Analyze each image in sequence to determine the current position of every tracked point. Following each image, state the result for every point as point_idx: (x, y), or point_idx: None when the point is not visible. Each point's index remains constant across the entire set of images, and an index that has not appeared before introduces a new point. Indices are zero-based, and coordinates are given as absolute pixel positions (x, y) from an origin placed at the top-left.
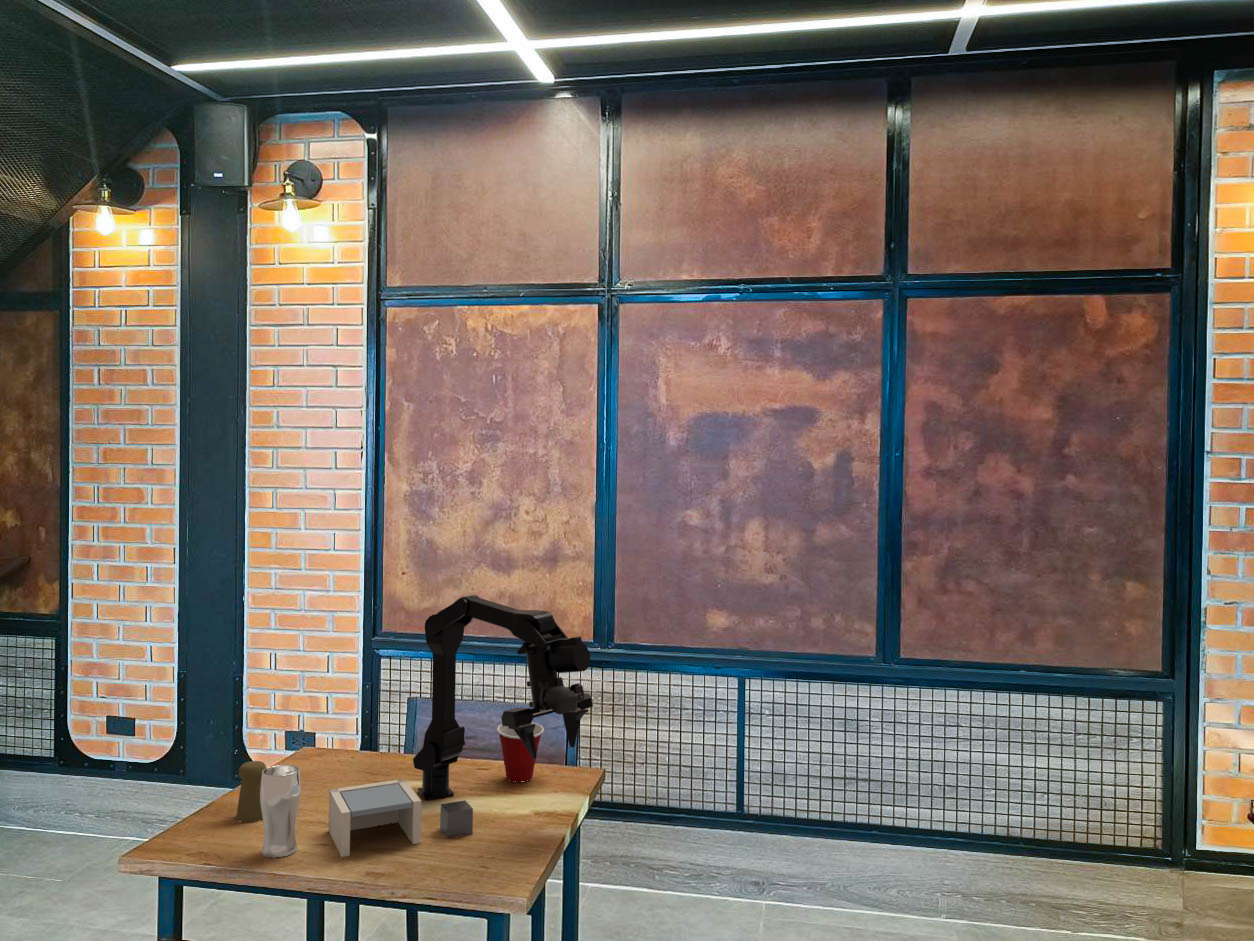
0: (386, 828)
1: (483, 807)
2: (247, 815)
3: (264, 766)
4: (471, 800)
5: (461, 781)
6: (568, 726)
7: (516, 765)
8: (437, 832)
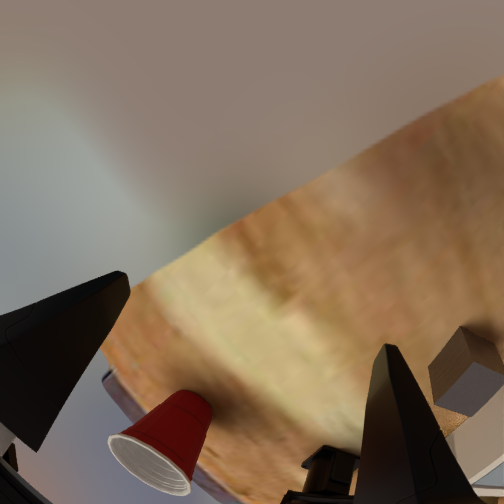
0: None
1: (334, 393)
2: (497, 498)
3: None
4: (320, 421)
5: (268, 457)
6: (58, 369)
7: (195, 424)
8: None
